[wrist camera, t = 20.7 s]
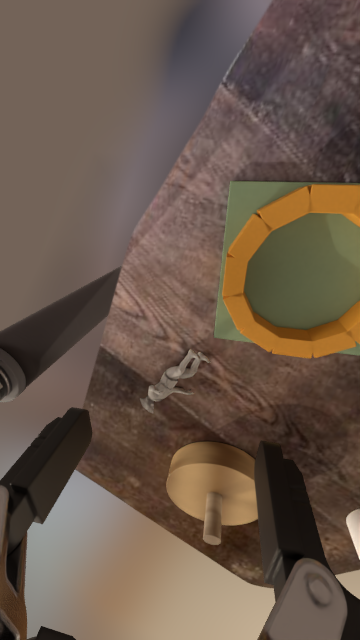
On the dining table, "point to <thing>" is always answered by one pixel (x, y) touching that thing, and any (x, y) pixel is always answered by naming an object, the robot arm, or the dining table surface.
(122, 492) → the dining table surface
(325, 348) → the ring
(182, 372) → the soldier figure
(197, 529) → the dining table surface
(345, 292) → the mat
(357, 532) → the base with upright slab
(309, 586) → the robot arm
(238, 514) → the ring stand
